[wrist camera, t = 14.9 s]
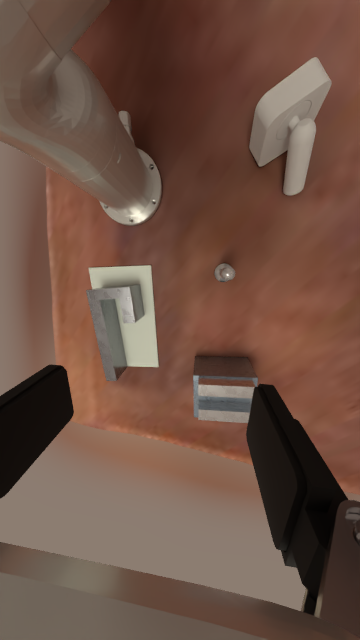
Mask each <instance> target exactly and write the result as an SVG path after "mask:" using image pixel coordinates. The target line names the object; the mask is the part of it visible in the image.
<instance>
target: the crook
mask: <svg viewBox="0 0 360 640" xmlns="http://www.w3.org/2000/svg"><path fill="white" fill-rule="evenodd" d="M86 292H87V297H88V301H89V306H90V310H91V315H92V319H93V323H94V328H95V332H96V337H97V341H98V345H99V350H100V354H101V359H102V363H103V368H104V372H105V376H106V381H117V380H118V378H119V377H120V376H121V374H122V373H123V372H124V370H125V369H126V368H127V361H126V356H125V350H124V345H123V339H122V334H121V329H120V323H119V318H118V312H117V307H116V302H115V299H118V298H119V300H120V305H121V311H122V317H123V322H124V323H136V322H137V321H138V320H140V319H141V318H142V317H143V316H144V315H145V314H144V307H143V300H142V293H141V286H140V284H135V285H123V286H111V287H101V288H96V289H91V290H86Z"/></svg>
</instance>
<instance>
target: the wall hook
mask: <svg viewBox="0 0 360 640" xmlns="http://www.w3.org/2000/svg"><path fill="white" fill-rule="evenodd" d="M330 87H331V80H330V79H329V77H328V75H327V73H326V72H325V70H324V68H323V66H322V65H321V63H320V61H319V59H318V58H317V57H314V58H312V59H310V60H309V61H308V62H306V63H305V64H304V65H302V66H301V67H300V68H298V69H297V70H296V71H294V72H293V73H292V74H290V75H289V76H288V77H286V78H285V79H284V80H282V81H281V82H280V83H279V84H277V85H276V86H275V87H273V88H272V89H271V90H269V91H268V92H267V93H266V94H265V95H264V96H263V97H262V98H261V100H260V101H259V103H258V105H257V107H256V109H255V114H254V120H253V126H252V132H251V138H250V144H249V149H250V151H251V153H252V154H253V156H254V158H255V160H256V162H257V164H258V166H259V167H261V166H264V165H265V164H267V163H269V162H270V161H272V160H273V159H275V158H276V157H278V156H279V155H281V154H282V153H284V152H285V151H287V150H288V153H287V161H286V170H285V178H284V187H283V192H284V194H286V195H295V194H297V193H299V192H301V191H302V189H303V188H304V183H305V179H306V174H307V170H308V165H309V161H310V156H311V152H312V147H313V143H314V138H315V133H316V125H315V122H314V120H315V118H316V116H317V114H318V112H319V110H320V107H321V105H322V103H323V101H324V99H325V97H326V95H327V93H328V91H329V89H330Z"/></svg>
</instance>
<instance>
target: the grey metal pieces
mask: <svg viewBox="0 0 360 640" xmlns="http://www.w3.org/2000/svg"><path fill="white" fill-rule="evenodd" d="M214 274H215V277H216V279H217V280H218V281H220V282H226V281H228V280H232V279H233V278H234V276H235V271H234V269H233V268H232V267H231V266H230V265H228V264H225V263H224V264H220V265H218V266H217V267H216V269H215V272H214ZM193 380H194V417H199V420H210V421H225V422H240V423H248V420H249V415H250V409H251V403H252V397H253V391H254V388H255V387H257V381H258V377H257V375H256V373H255V371H254V369H253V367H252V365H251V363H250V361H249V359H248V357H207V356H195V363H194V375H193Z"/></svg>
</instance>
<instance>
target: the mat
mask: <svg viewBox="0 0 360 640" xmlns="http://www.w3.org/2000/svg"><path fill="white" fill-rule="evenodd" d="M89 273H90V278H91V284H92V289H96V288H101V287H111V286H123V285H135V284H140V286H141V293H142V300H143V307H144V314H145V315H144V316H143V317H142V318H141V319H140V320H138V321H137V322H136V323H124V322H123V317H122V311H121V305H120V300H119V298H118V299H115V302H116V307H117V312H118V318H119V323H120V329H121V334H122V339H123V345H124V350H125V356H126V361H127V366H140V367H159V361H158V348H157V335H156V322H155V308H154V295H153V282H152V269H151V265H147V266H122V267H97V268H89Z"/></svg>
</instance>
